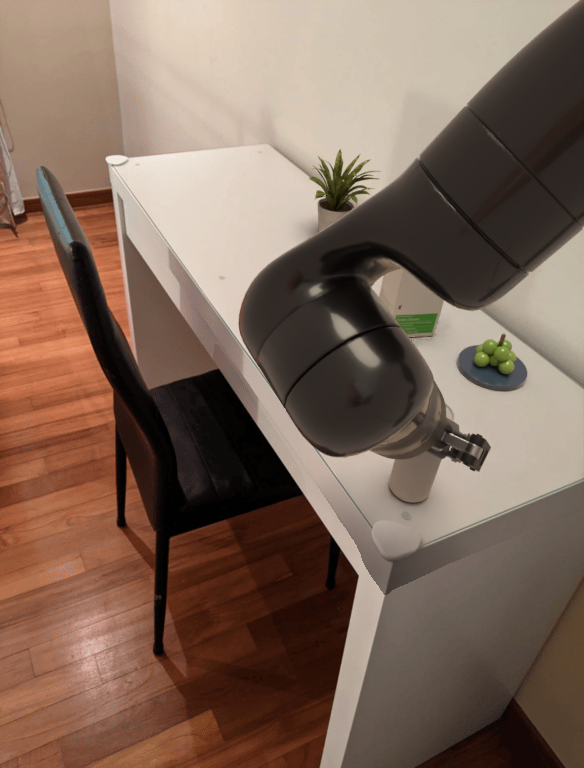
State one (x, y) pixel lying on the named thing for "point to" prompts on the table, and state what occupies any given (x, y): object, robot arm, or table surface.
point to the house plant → (338, 190)
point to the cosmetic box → (410, 303)
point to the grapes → (493, 365)
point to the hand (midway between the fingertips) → (418, 431)
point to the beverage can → (415, 473)
